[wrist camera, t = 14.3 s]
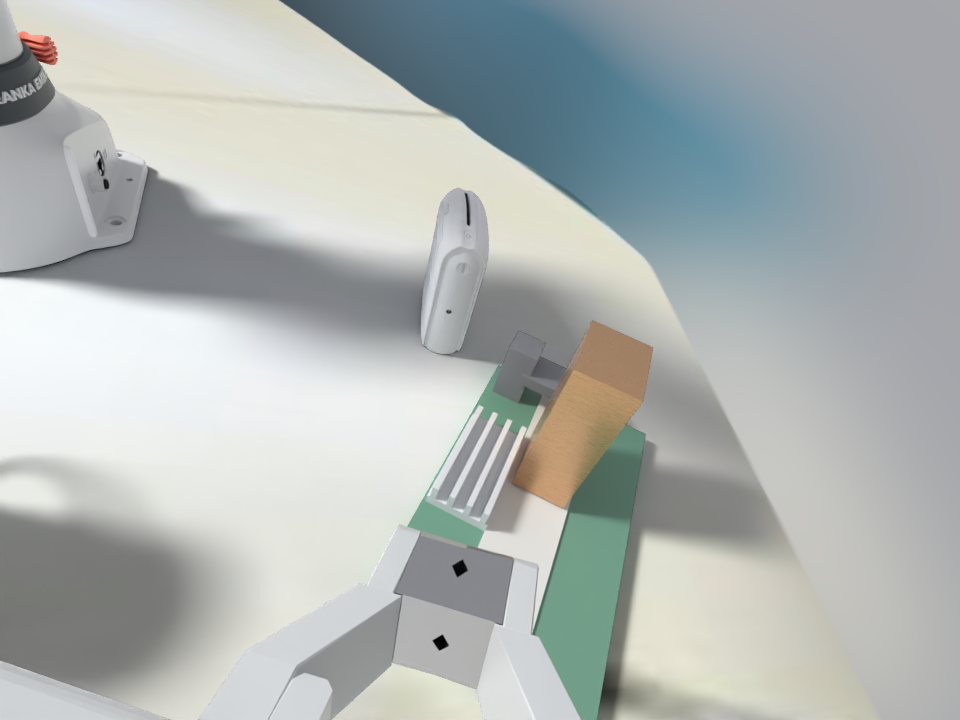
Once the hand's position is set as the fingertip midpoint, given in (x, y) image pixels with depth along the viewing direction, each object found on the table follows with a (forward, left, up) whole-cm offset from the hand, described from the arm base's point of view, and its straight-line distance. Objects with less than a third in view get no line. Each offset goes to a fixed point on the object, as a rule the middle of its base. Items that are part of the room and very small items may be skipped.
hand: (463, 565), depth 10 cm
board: (-12, +11, -21) cm, 26 cm away
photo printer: (-32, +6, -21) cm, 39 cm away
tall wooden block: (-16, +13, -19) cm, 28 cm away
